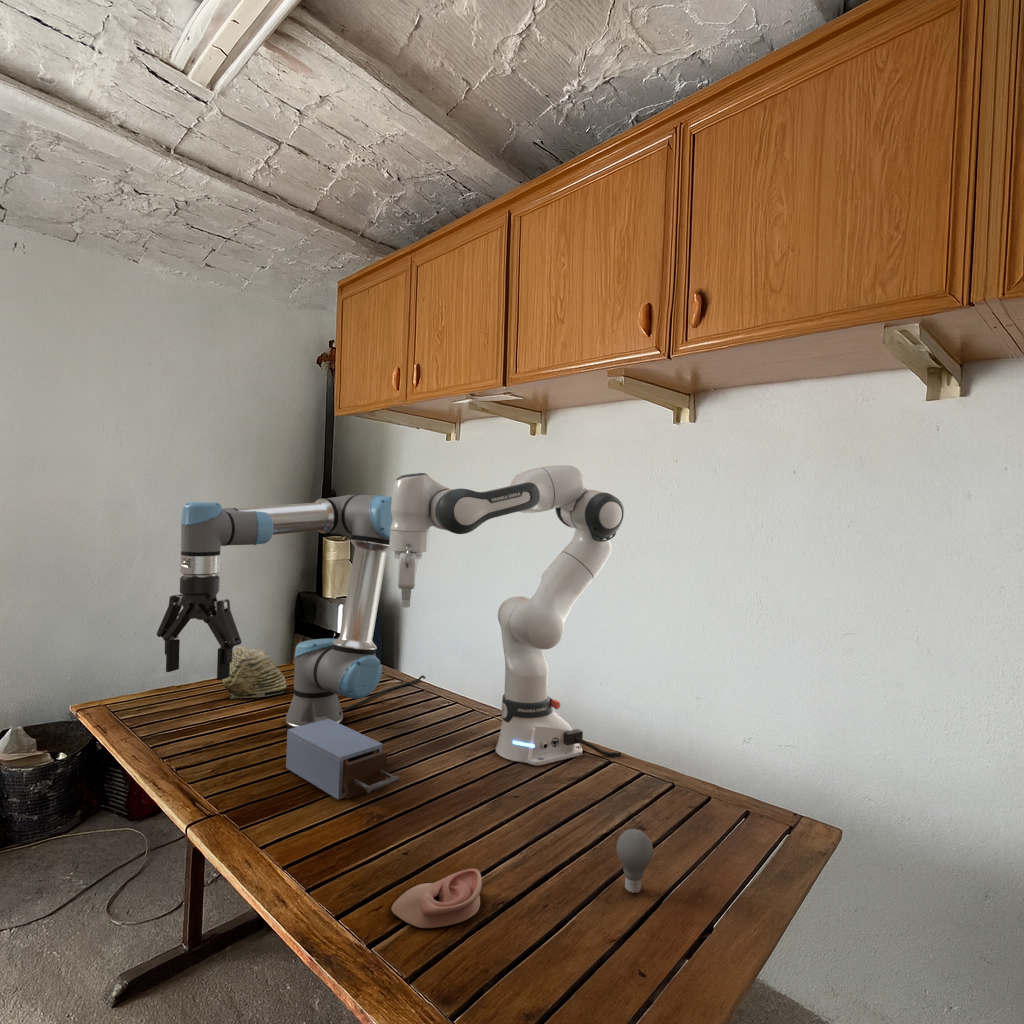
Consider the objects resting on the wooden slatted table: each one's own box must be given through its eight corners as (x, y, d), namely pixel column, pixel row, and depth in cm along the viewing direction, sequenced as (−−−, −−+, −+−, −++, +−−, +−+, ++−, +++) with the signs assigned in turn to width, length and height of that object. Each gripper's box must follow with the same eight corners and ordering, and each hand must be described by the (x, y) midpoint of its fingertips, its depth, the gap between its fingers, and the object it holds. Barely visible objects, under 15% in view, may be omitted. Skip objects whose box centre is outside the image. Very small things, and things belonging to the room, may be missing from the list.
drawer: (402, 793, 135) (404, 760, 135) (364, 808, 128) (365, 773, 128) (334, 756, 152) (335, 727, 152) (296, 768, 145) (297, 737, 145)
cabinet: (381, 783, 141) (382, 743, 141) (338, 799, 133) (339, 757, 133) (327, 754, 155) (329, 718, 155) (285, 767, 147) (287, 729, 147)
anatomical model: (384, 895, 95) (411, 854, 106) (383, 921, 95) (410, 877, 106) (469, 910, 92) (488, 866, 104) (468, 937, 93) (487, 890, 104)
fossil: (218, 695, 195) (220, 647, 195) (278, 685, 208) (279, 640, 207) (228, 703, 189) (230, 653, 188) (289, 692, 201) (290, 645, 201)
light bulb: (610, 879, 108) (613, 822, 108) (644, 879, 109) (647, 822, 109) (619, 902, 102) (622, 840, 102) (655, 901, 103) (658, 840, 103)
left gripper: (139, 572, 134) (137, 671, 135) (235, 581, 126) (232, 687, 127) (168, 568, 141) (166, 663, 142) (260, 577, 133) (258, 677, 134)
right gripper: (423, 547, 135) (420, 611, 136) (422, 540, 156) (419, 596, 156) (393, 546, 135) (390, 611, 135) (396, 539, 155) (393, 596, 155)
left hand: (197, 674), depth 134 cm, fingers open, 13 cm apart
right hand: (406, 603), depth 146 cm, fingers open, 8 cm apart
